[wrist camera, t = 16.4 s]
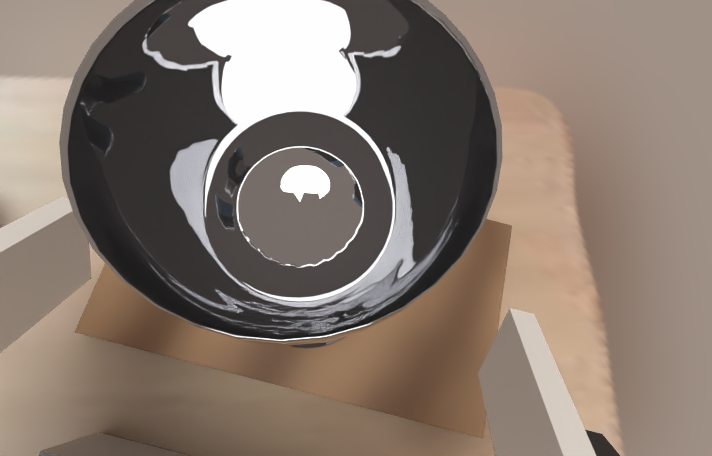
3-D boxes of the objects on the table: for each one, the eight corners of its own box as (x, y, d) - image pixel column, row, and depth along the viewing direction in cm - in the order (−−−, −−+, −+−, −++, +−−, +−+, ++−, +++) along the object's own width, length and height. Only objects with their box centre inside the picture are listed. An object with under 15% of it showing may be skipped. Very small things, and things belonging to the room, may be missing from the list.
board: (85, 333, 21) (74, 332, 20) (168, 143, 25) (162, 134, 24) (475, 435, 21) (482, 438, 20) (504, 231, 25) (511, 226, 24)
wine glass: (354, 186, 24) (408, -80, 10) (409, 323, 22) (579, 247, 8) (211, 230, 22) (24, -4, 8) (255, 382, 20) (107, 423, 6)
